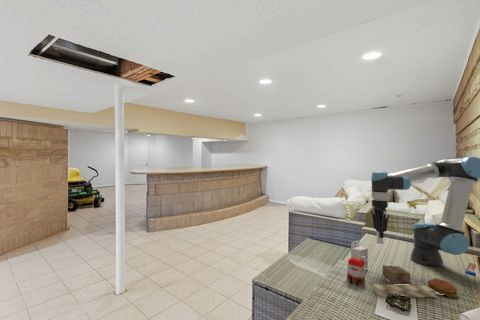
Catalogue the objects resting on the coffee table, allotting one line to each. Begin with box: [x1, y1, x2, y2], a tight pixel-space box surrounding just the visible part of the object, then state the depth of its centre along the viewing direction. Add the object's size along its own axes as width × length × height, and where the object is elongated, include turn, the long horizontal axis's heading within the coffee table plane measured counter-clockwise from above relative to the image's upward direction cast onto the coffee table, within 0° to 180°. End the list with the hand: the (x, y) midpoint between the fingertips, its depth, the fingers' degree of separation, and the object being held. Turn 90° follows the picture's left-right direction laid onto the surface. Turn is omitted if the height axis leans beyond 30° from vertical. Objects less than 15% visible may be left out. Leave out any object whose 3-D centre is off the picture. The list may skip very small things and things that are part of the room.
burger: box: [426, 278, 458, 299], centre depth 99 cm, size 10×9×5 cm
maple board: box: [372, 283, 436, 298], centre depth 97 cm, size 24×4×3 cm, turn 89°
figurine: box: [346, 256, 367, 287], centre depth 107 cm, size 8×7×12 cm
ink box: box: [350, 239, 369, 268], centre depth 122 cm, size 8×5×15 cm, turn 123°
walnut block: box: [382, 265, 411, 285], centre depth 109 cm, size 8×8×6 cm
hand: (380, 243), depth 121 cm, fingers closed
